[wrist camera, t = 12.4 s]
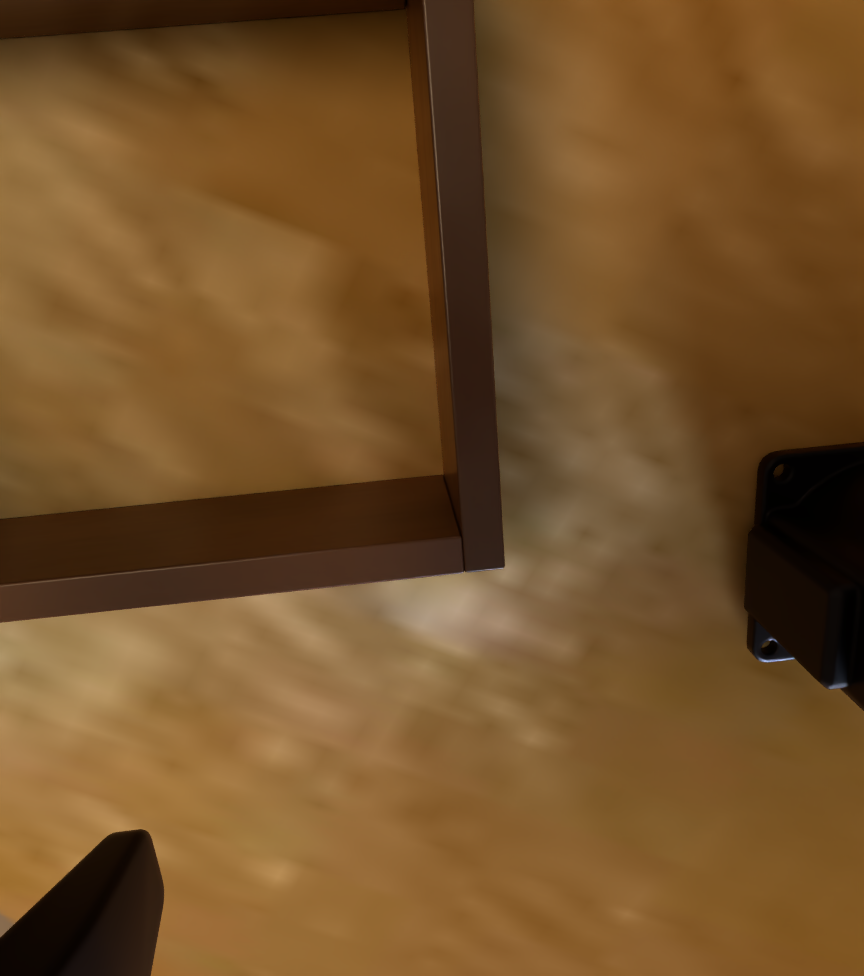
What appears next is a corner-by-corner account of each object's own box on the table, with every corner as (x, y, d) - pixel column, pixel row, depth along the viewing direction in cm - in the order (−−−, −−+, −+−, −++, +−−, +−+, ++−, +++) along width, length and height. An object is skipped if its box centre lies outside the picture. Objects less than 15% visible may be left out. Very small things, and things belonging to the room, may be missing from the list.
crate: (442, -41, 16) (466, -145, 12) (478, 501, 20) (505, 569, 16) (-296, 12, 15) (-554, -78, 11) (-105, 561, 20) (-239, 649, 15)
